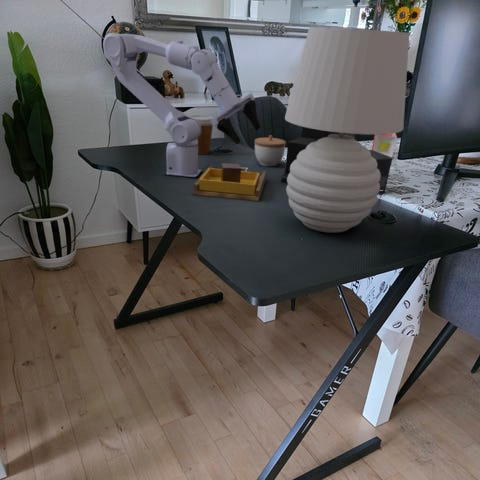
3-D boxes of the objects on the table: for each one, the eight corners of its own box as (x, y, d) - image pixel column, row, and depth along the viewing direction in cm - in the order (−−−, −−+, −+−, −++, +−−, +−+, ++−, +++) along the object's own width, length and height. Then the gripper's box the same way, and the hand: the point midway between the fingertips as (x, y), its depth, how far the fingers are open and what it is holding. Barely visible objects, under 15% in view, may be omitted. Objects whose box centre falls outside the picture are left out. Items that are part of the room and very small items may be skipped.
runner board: (193, 194, 123) (193, 184, 122) (209, 174, 141) (209, 165, 140) (258, 201, 122) (259, 190, 120) (265, 179, 140) (266, 170, 138)
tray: (199, 189, 123) (199, 179, 122) (211, 173, 138) (212, 163, 137) (254, 195, 122) (254, 184, 120) (260, 177, 137) (261, 168, 135)
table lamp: (322, 201, 124) (350, 30, 103) (400, 231, 108) (451, 36, 87) (253, 217, 111) (267, 24, 89) (329, 254, 94) (370, 28, 73)
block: (222, 186, 125) (223, 167, 122) (220, 181, 129) (221, 163, 127) (240, 186, 126) (241, 168, 123) (238, 181, 130) (238, 163, 127)
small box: (347, 184, 140) (353, 149, 135) (364, 183, 143) (371, 149, 137) (368, 195, 132) (375, 158, 127) (385, 193, 135) (394, 157, 129)
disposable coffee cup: (191, 148, 170) (190, 114, 164) (215, 150, 170) (216, 116, 163) (185, 154, 163) (184, 118, 156) (210, 156, 162) (211, 120, 155)
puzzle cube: (371, 156, 177) (376, 134, 173) (371, 152, 184) (375, 131, 180) (392, 158, 176) (397, 137, 172) (391, 154, 183) (395, 133, 178)
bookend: (312, 188, 135) (324, 102, 122) (280, 181, 139) (289, 97, 127) (339, 173, 152) (352, 96, 139) (309, 167, 157) (320, 92, 144)
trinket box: (281, 169, 152) (284, 140, 147) (250, 166, 153) (252, 136, 148) (285, 162, 161) (288, 134, 156) (256, 159, 162) (258, 131, 157)
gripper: (206, 100, 120) (234, 145, 124) (246, 73, 123) (273, 118, 127) (199, 109, 127) (226, 152, 130) (237, 84, 130) (263, 126, 134)
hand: (248, 136), depth 129 cm, fingers open, 7 cm apart
